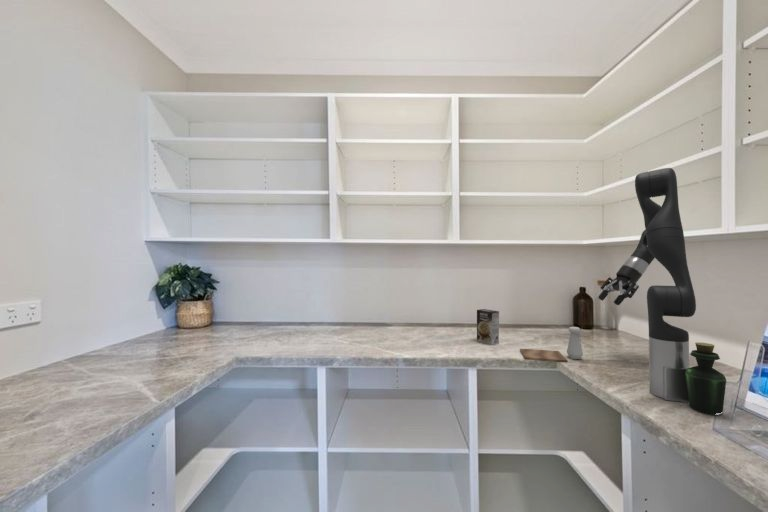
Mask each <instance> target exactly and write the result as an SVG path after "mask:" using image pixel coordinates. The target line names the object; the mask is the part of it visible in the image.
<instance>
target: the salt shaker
mask: <svg viewBox="0 0 768 512" xmlns="http://www.w3.org/2000/svg"><path fill="white" fill-rule="evenodd" d="M581 331H582V330H581V328H580V327H578V326H570V327H569V328H568V333H570V334H569V340H568V344H567V349H566V353H567V355H568V357H569V359H571V358H572V360H576V359H579V360H581V359H582V357H583V355H584V353H583V348H582V343H581V338H580V334H581Z"/></svg>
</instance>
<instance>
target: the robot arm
mask: <svg viewBox="0 0 768 512" xmlns="http://www.w3.org/2000/svg"><path fill="white" fill-rule="evenodd" d="M634 188H635V194H636V197H637V201H638V204H639V207H640V210H641V212H642V214H643V221H644V228H645V229H644V230H643V231H642V233H641V236H640V237H639V242H638V244H637V246H636V248H635V250H634V251H633V252H632V253H631V255H630V256H629V257H628V258H627V259H626V260H625V262H624V263H623V264H622V266H620V268H619V269H618V270H617V272H616V273H615V276H616V277H615V278H611V277H608V278H607V279H606V280H605V281H604V283H603V284H602V285H601V286H600V290H602V291H601V292H600V294H599V295H598V297H597V298H598V299H599V300H600V301H604V300H605V299H606V298H607V296H608V295H609V294H610V293H612V292H615V291H617V292H619V294H618V295H617V297H615V299H614V300H613V303H614V304H615V305H616V306H620V305H621V304H622V303H623V302H624V300H625V299H627V298H629V299H632V298H633V296H634V295H635V293H636V292H637V291H638V289H639V288H640V286H639V285H638V284H637V283H638V282H639V281H640V278H641V277H642V276H643V275H644V273H646V271H647V269H648V267H649V266H650V264H651V263H652V262H653V261H654V259H656V261H657V262H658V263H660V264H661V266H663V267H664V268H665V269H666V270H667V272H668V273H669V274H670V276H671V277H672V280H673V282H674V285H651V286H649V287H648V289H647V291H646V304H647V316H648V317H647V319H648V366H649V367H648V376H649V377H648V383H649V393H650V394H651V395H654V396H656V397H659V398H662V399H663V400H666V401H671V402H673V401H675V402H684V403H689V399H688V391H687V383H686V375H685V371H686V370H687V369H688V368H690V334H689V332H688V331H687V330H685V329H684V328H680V327H677V326H675V325H672V324H669V323H668V322H667V321H665V320H664V318H663V317H677V318H678V317H679V318H690V317H694V316H695V314H696V311H697V301H696V296H695V290H694V288H693V283H692V279H691V275H690V270H689V267H688V265H689V264H688V259H687V253H686V243H685V241H686V240H685V235H684V228H683V224H682V223H683V222H682V220H681V219H682V218H681V214H680V208H679V207H680V206H679V195H678V181H677V174H676V172H675V170H674V169H673V168H672V167H667V168H666V167H665V168H659V169H654V170H650V171H644V172H640V173H638V174H636V176H635V179H634ZM663 196H665V197H664V201H663V203H662V205H660V204H658V203H657V202H655V201H653V200H652V199H651V198H657V197H663Z"/></svg>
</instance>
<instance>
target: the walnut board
mask: <svg viewBox="0 0 768 512" xmlns="http://www.w3.org/2000/svg"><path fill="white" fill-rule="evenodd" d="M519 351H520V353H521V355H522V354H523V355H522V356H524V357H523V359H524V360H530V361H533V360H534V361H543V362H544V361H546V362H557V363H558V362H560V363H569V361H568V359H567V358H566V357H565V356H564V355H563V354H562V353H561V352H560V351H559V350H548V349H531V348H519Z"/></svg>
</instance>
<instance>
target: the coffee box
mask: <svg viewBox="0 0 768 512" xmlns="http://www.w3.org/2000/svg"><path fill="white" fill-rule="evenodd" d="M499 327H500V311H498V310H492V309H486V308H483V309H482V308H481V309H476V342H477V343H481V344H485V345H490V346H495V345H498V344H499V343H500V328H499Z"/></svg>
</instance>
